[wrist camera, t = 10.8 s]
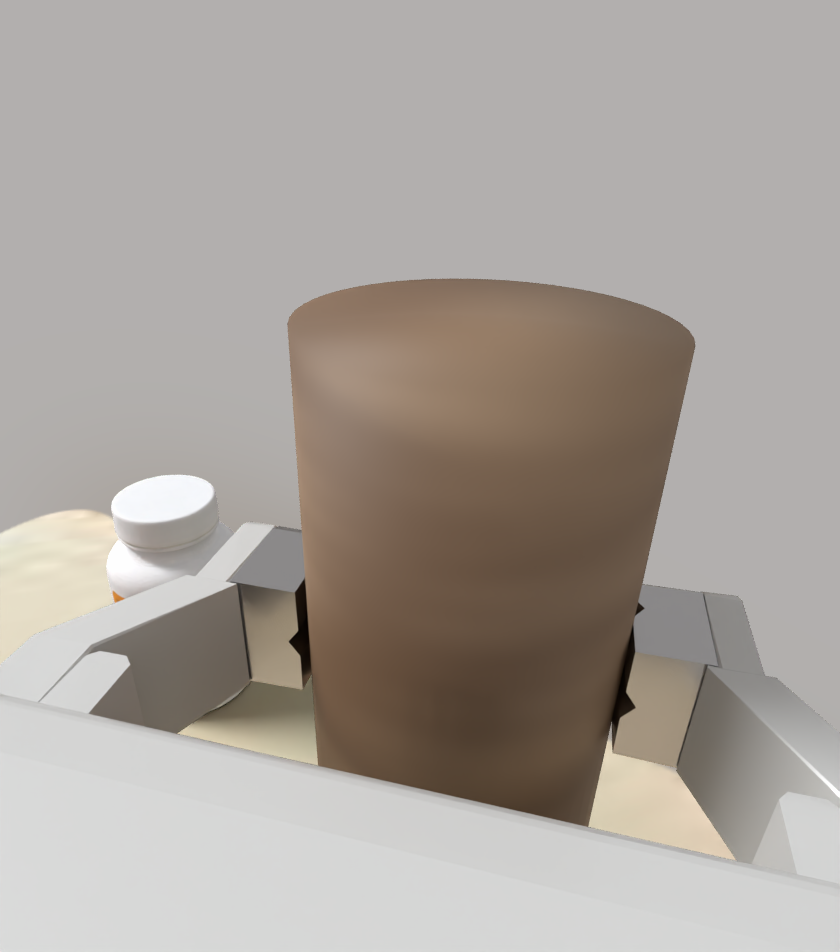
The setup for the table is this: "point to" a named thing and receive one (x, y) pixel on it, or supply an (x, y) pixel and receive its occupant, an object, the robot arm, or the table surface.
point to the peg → (478, 526)
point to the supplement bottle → (163, 534)
